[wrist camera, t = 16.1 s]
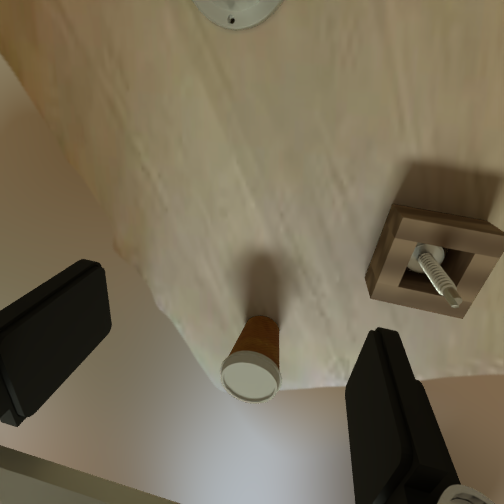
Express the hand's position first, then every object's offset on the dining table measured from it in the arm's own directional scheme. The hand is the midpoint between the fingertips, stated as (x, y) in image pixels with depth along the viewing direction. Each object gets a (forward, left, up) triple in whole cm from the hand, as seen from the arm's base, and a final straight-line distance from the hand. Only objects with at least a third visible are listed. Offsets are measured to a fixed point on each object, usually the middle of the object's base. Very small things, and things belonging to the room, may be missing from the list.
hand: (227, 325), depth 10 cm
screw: (+9, +20, -34) cm, 40 cm away
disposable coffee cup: (+30, 0, -34) cm, 45 cm away
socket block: (+9, +20, -33) cm, 40 cm away
